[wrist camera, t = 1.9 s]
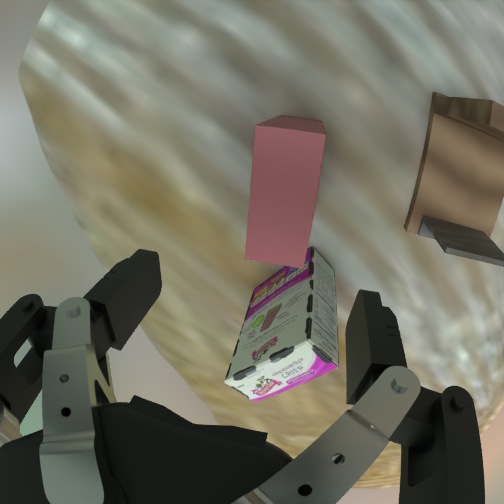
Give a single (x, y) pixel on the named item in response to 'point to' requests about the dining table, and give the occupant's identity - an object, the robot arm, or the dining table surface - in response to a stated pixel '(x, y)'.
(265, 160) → the burgundy book
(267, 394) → the candy bar box
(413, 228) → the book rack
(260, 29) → the dining table surface
